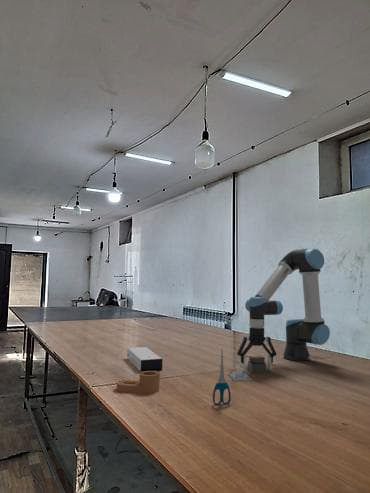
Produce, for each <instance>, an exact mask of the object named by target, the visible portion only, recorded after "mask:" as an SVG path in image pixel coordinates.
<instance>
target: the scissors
mask: <svg viewBox="0 0 370 493" xmlns="http://www.w3.org/2000/svg"><path fill="white" fill-rule="evenodd" d="M220 353H221V354H220V356H221V357H220V368H219V369H220V370H219V379H218V381H217V382H216V383H215V386H214V388H213V392H212V403H213V404H214V405H215V406H219V405H221V404H224V405H226V404H227V405H229V404H230V403H231V398H232V397H231V396H232V395H231V390H230V386H229V384H228V382H227V381H226V379H225V371H224V369H225V367H224V356H223V355H224V352H223V349H221V352H220ZM217 390H219V401H218V402H216V400H215V398H216V392H217ZM225 390H227V391H228V399H227V401H225V400H224V393H225Z"/></svg>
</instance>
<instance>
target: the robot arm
mask: <svg viewBox="0 0 370 493" xmlns="http://www.w3.org/2000/svg"><path fill="white" fill-rule="evenodd" d="M324 265H325V257H324V255H323V252H321V251H320V250H319V249H318V248H301V249H294V250H292V251H290V252H288V253H286V255H284V256H283V258H282V259H281V260H280V261H279V262H278V264H277V268H276V269H275V270H274V271H273V272H272V274H271V275H270V276H269V278H268V279H267V280H266V281H265V282H264V284H263V285H262V287H260V289H259V290H258V292H257V293H256V294H255V295H254V296H251V297H250V298H249V299H247V300H246V301H245V304H244V305H245V309H246V311H247V312H248V313H249V336H243V338H242V342H241V344H240V346H239V348H238V350H237V353H236V354H237V356H240V363H241V364H242V367H243V371H246V356H245V355H247V353H248V351H250V349H251V348H252V347H257V346H258V347H260V346H261V347H262V348H263V349H264V350H265V352H266V353H267V354H268V355H267V370H269V371H272V364H273V363H274V357H275V356H276V357H277V355H278V354H277V352H276V350H275V348H274V345H273V343H272V341H271V340H272V339H271V338H272V337H270V336H265V328H264V327H265V316H277V315H281V314H282V313H283V310H284V307H283V303H282V302H281V301H279V300H270V299H271V298H272V297H273V296H274V294H275V293H276V292H277V290H278V289H279V288H280V287H281V285H283V284H282V283H283V282H284V281H285V280H286V279H287V277H289V275H291V274H293V273H294V272H295V271H296V270H298V273H299V274H300V275H301V276H302V279H301V280H302V287H303V288H302V290H303V291H302V292H303V302H304V305H303V306H304V316H305V317H304V318H302V319H301V318H300V319H297V318H296V319H288V320H286V323H285V338H286V339H285V342H286V343H285V344H286V345H285V347H284V351H283V354H282V356H283V359H285V360H289V361H296V362H297V361H299V362H307V361H309V360H311V355H310V353H309V352H310V351H309V349H308V346H307V344H310V345H311V344H313V345H314V346H317V345H318V346H322V345H324V344H326V343H327V342H328V340H329V338H330V335H331V332H330V331H331V330H330V327H329V326H328V325H327V324H325V319H324V318H322V311H321V310H322V309H321V300H320V299H321V296H320V284H319V274H320V273H321V269H322V268H323V267H324ZM248 341H249V343H247V342H248ZM265 341H266V342H267V344H268V347H269V348H268V347H267V346H266V344H265ZM246 343H247V345H246ZM245 346H246V347H245Z"/></svg>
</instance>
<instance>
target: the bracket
mask: <svg viewBox="0 0 370 493" xmlns="http://www.w3.org/2000/svg"><path fill="white" fill-rule="evenodd" d="M160 374H161V373H160V372H159V371H144V372H139V379H137V380H136V379H122V380H118V381H116V391H117V392H120V393H132V394H155V393H158V392H160V376H161V375H160Z"/></svg>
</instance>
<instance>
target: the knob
mask: <svg viewBox="0 0 370 493" xmlns="http://www.w3.org/2000/svg"><path fill="white" fill-rule="evenodd" d="M247 370H248V371H249V372H250V373H251V374H267V363H266V357H265V356H263V355H251V356H250V355H249V356H248V361H247Z"/></svg>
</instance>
